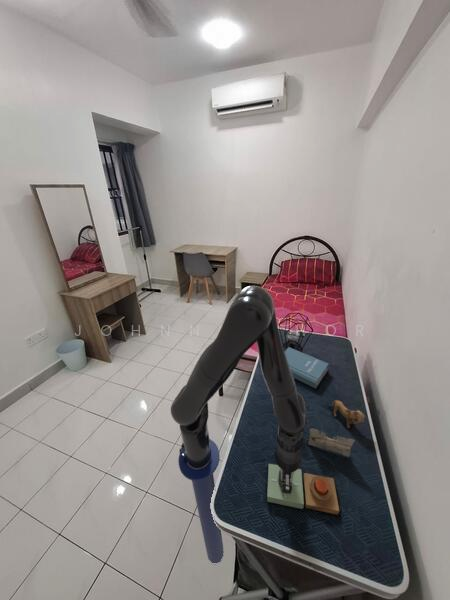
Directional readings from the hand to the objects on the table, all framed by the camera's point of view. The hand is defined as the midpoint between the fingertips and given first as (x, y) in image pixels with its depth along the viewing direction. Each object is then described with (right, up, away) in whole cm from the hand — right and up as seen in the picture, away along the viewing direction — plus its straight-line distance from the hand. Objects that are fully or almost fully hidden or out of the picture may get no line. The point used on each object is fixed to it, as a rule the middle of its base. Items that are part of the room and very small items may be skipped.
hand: (285, 482), depth 78 cm
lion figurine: (+31, +9, +23) cm, 39 cm away
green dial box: (0, -3, +2) cm, 3 cm away
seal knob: (0, 0, 0) cm, 0 cm away
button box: (+11, -3, -1) cm, 11 cm away
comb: (+19, +3, +11) cm, 22 cm away
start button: (+11, 0, -2) cm, 11 cm away
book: (+21, +22, +49) cm, 58 cm away
